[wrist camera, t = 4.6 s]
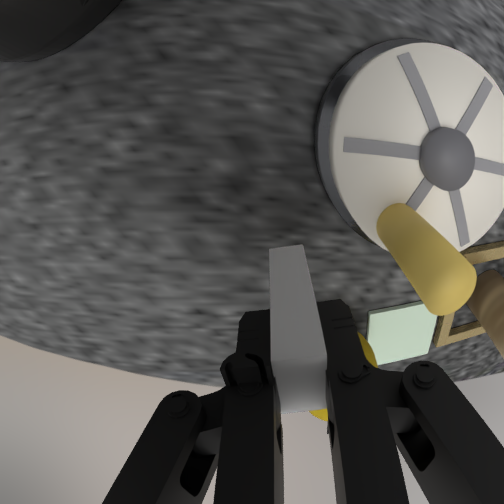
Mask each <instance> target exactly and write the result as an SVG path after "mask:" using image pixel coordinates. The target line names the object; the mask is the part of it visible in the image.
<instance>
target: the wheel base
mask: <svg viewBox="0 0 504 504" xmlns="http://www.w3.org/2000/svg"><path fill="white" fill-rule="evenodd" d="M411 43H433V42H430V41H426V40H421V39H409V38H402V39H395V40H389V41H386V42H383V43H380V44H377V45H374V46H372V47H370V48H368V49H366V50H364V51H362V52H360V53H358V54H357V55H355V56H354V57H353V58H352V59H350V60H349V61H348V62H346V63H345V65H344V66H343V67H342V68H341V69H340V70H339V71H338V72H337V73H336V75H335V76H334V78H333V79H332V80H331V82H330V83H329V85H328V87H327V89H326V91H325V93H324V95H323V97H322V100H321V103H320V106H319V109H318V114H317V119H316V124H315V138H314V143H315V156H316V162H317V167H318V171H319V174H320V177H321V180H322V183H323V186H324V188H325V190H326V192H327V194H328V196H329V198H330V199H331V201H332V203H333V204H334V206H335V207H336V209H337V211H338V212H339V214H340V215H341V216H342V218H343V219H344V220H345V221H346V222H347V224H348V225H349V226H350V227H351V228H352V229H353V230H354V231H356V232H357V233H358V234H359V235H360V236H362V237H363V238H365V239H366V240H367V241H369V242H371V243H373V244H375V245H377V244H376V243H375V242H374V241H372V240H371V239H370V238H369V237H368V236H367V235H366V234H365V233H364V232H363V231H362V230H361V228H360V227H359V225H358V224H357V223H356V221H355V220H354V219H353V217H352V216H351V214H350V213H349V211H348V210H347V208H346V207H345V205H344V203H343V201H342V199H341V198H340V196H339V193H338V190H337V188H336V186H335V183H334V179H333V175H332V171H331V166H330V159H329V133H330V124H331V120H332V116H333V112H334V109H335V106H336V103H337V101H338V98H339V96H340V94H341V92H342V90H343V89H344V87H345V85H346V83H347V82H348V81H349V80H350V78H351V77H352V76H353V74H354V73H355V72H356V71H357V70H358V69H359V68H360V67H361V66H362V65H363V64H364V63H366V62H367V61H369V60H370V59H372V58H373V57H374V56H376V55H378V54H380V53H383V52H385V51H387V50H390V49H393V48H396V47H399V46H403V45H407V44H411ZM435 44H436V43H435ZM377 246H379V245H377ZM379 247H380V246H379ZM381 248H382V247H381Z"/></svg>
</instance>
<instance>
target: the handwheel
mask: <svg viewBox="0 0 504 504" xmlns="http://www.w3.org/2000/svg"><path fill="white" fill-rule="evenodd" d="M329 159H330V166H331V171H332V175H333V179H334V183H335V186H336V188H337V190H338V193H339V196H340V198H341V199H342V201H343V203H344V205H345V207H346V208H347V210H348V211H349V213H350V214H351V216H352V217H353V219H354V220H355V221H356V223H357V224H358V225H359V227H360V228H361V230H362V231H363V232H364V233H365V234H366V235H367V236H368V237H369V238H370V239H371V240H372V241H374V242H375V243H376V244H377V245H379V246H380V247H382V248H383V249H385V250H387V251H389V252H390V254H391V255H392V256H393V258H394V259H395V261H396V262H397V264H398V265H399V267H400V268H401V269H402V271H403V272H404V274H405V275H406V277H407V278H408V280H409V281H410V283H411V284H412V286H413V287H414V289H415V291H416V292H417V294H418V295H419V297H420V298H421V300H422V302H423V303H424V305H425V306H426V308H427V310H428V311H429V312H430V313H432V314H434V315H438V316H443V315H448V314H450V313H453V312H455V311H456V310H458V309H459V308H461V307H462V306H463V305H464V304H465V303H466V302H467V301H468V299H469V298H470V296H471V295H472V293H473V291H474V289H475V286H476V281H477V275H476V271H475V268H474V267H473V266H472V265H471V264H470V263H469V261H468V260H467V259H466V258H465V257H464V256H463V255H462V254H461V253H460V251H462V250H464V249H466V248H468V247H469V246H471V245H472V244H474V243H475V242H476V241H477V240H478V239H480V238H481V237H482V236H483V235H484V234H485V233H486V232H487V231H488V230H489V229H490V228H491V226H492V225H493V224H494V222H495V221H496V220H497V218H498V217H499V215H500V213H501V212H502V210H503V208H504V96H503V94H502V92H501V90H500V89H499V87H498V86H497V84H496V83H495V81H494V80H493V79H492V77H491V76H490V75H489V74H488V73H487V72H486V71H485V70H484V69H483V68H482V67H481V66H480V65H479V64H478V63H477V62H475V61H474V60H473V59H472V58H470V57H468V56H467V55H465V54H464V53H462V52H460V51H458V50H455V49H453V48H451V47H448V46H444V45H440V44H435V43H411V44H407V45H403V46H399V47H396V48H393V49H390V50H387V51H385V52H383V53H380V54H378V55H376V56H374V57H373V58H372V59H370V60H369V61H367V62H366V63H364V64H363V65H362V66H361V67H360V68H359V69H358V70H357V71H356V72H355V73H354V74H353V76H352V77H351V78H350V80H349V81H348V82H347V83H346V85H345V87H344V89H343V90H342V92H341V94H340V96H339V98H338V101H337V103H336V106H335V109H334V112H333V116H332V120H331V124H330V133H329Z"/></svg>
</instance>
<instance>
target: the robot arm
mask: <svg viewBox="0 0 504 504" xmlns="http://www.w3.org/2000/svg"><path fill="white" fill-rule="evenodd" d="M120 1H121V0H0V62H27V61H34V60H39V59H42V58H45V57H48V56H50V55H52V54H55V53H57V52H59V51H61V50H63V49H64V48H66V47H68V46H69V45H71V44H72V43H74V42H75V41H77V40H78V39H80V38H81V37H82V36H84V35H85V34H86V33H88V32H89V31H90V30H91V29H93V28H94V27H95V26H96V25H97V24H98V23H99V22H101V21H102V20H103V19H104V18H105V17H106V16H107V15H108V14H109V13H110V12H111V11H112V10H113V9H114V8H115V7H116V6H117V5H118V4H119V2H120ZM269 269H270V309H268V310H259V311H249V312H245V314H244V315H243V317H242V318H241V320H240V321H239V329H238V338H237V341H238V342H237V348H236V353H234V354H232V355H230V356H228V357H227V358H226V359H225V360H224V361H223V363H222V365H221V368H220V371H221V374H222V376H223V379H224V382H225V384H226V386H225V387H224V388H222V389H221V390H219V391H216V392H214V393H211V394H207V395H204V396H201V397H198V396H197V395H196V394H195V393H192V392H190V391H176V392H172V393H170V394H169V395H167V396H166V397H164V398H163V400H162V401H161V402H160V403H159V405H158V407H157V409H156V410H155V412H154V414H153V416H152V417H151V419H150V421H149V422H148V424H147V426H146V428H145V429H144V431H143V433H142V435H141V436H140V438H139V440H138V442H137V443H136V445H135V447H134V449H133V450H132V452H131V454H130V455H129V457H128V459H127V461H126V463H125V464H124V466H123V468H122V469H121V471H120V473H119V475H118V476H117V478H116V480H115V482H114V483H113V485H112V487H111V489H110V491H109V492H108V494H107V496H106V497H105V499H104V501H103V503H102V504H202V501H203V499H204V497H205V495H206V492H207V490H208V488H209V485H210V483H211V480H212V478H213V476H214V473H215V471H216V468H217V476H216V485H215V494H214V503H213V504H284V473H283V431H282V424H281V414H286V413H295V412H305V411H313V410H320V409H327V412H328V427H327V434H329V438H330V445H331V453H332V463H333V471H334V481H335V491H336V501H337V504H409V500H408V496H407V490H406V486H405V481H404V476H403V472H402V468H401V464H400V459H399V455H398V451H397V447H398V449H399V451H400V452H401V454H402V456H403V457H404V459H405V461H406V463H407V464H408V466H409V468H410V469H411V471H412V473H413V475H414V477H415V478H416V480H417V482H418V484H419V485H420V487H421V489H422V491H423V493H424V495H425V496H426V498H427V500H428V502H429V504H504V448H503V446H502V444H501V443H500V442H499V440H498V439H497V438H496V436H495V435H494V434H493V433H492V431H491V430H490V428H489V427H488V426H487V424H486V423H485V422H484V420H483V419H482V418H481V417H480V415H479V414H478V413H477V411H476V410H475V409H474V407H473V406H472V405H471V404H470V403H469V401H468V400H467V399H466V397H465V396H464V395H463V394H462V392H461V391H460V390H459V389H458V387H457V386H456V385H455V384H454V383H453V381H452V380H451V379H450V378H449V376H448V375H447V374H446V373H445V372H444V370H443V369H442V368H441V367H439V366H438V365H437V364H435V363H433V362H430V361H418V362H414V363H412V364H410V365H409V366H408V367H406V369H405V371H404V372H398V371H386V370H381V369H379V368H376V367H375V366H373V365H372V364H371V363H370V362H369V361H368V360H367V359H366V356H365V354H364V351H363V348H362V345H361V341H360V338H359V335H358V332H357V329H356V327H355V323H354V320H353V318H352V314H351V311H350V308H349V306H348V305H346V304H345V303H344V302H343V301H342V300H341V299H337V300H330V301H323V302H316V299H315V295H314V290H313V286H312V281H311V277H310V273H309V268H308V264H307V260H306V256H305V251H304V247H303V244H302V245H294V246H287V247H279V248H272V249H269ZM396 445H397V447H396ZM217 466H218V467H217Z"/></svg>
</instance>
